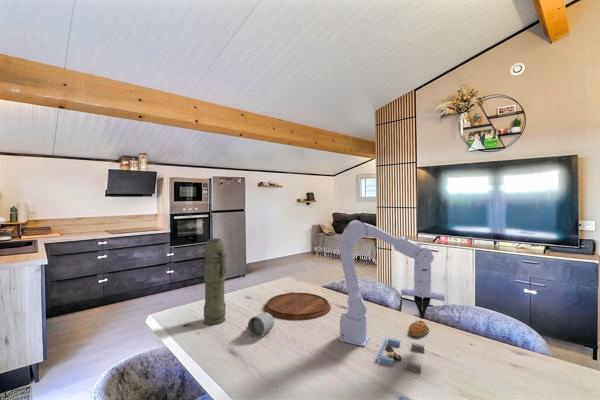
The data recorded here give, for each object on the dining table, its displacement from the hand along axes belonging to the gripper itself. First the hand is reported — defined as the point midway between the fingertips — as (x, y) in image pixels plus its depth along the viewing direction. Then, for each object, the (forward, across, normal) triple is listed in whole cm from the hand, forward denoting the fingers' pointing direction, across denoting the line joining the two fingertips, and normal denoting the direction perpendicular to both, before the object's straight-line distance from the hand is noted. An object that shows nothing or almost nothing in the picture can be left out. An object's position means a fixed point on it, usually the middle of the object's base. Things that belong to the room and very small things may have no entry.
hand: (422, 317), depth 106 cm
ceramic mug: (+10, -58, -20) cm, 62 cm away
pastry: (+10, -2, +9) cm, 14 cm away
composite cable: (+10, -8, -13) cm, 18 cm away
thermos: (+10, -81, -19) cm, 84 cm away
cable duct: (+9, -5, -12) cm, 16 cm away
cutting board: (+10, -57, +12) cm, 59 cm away
